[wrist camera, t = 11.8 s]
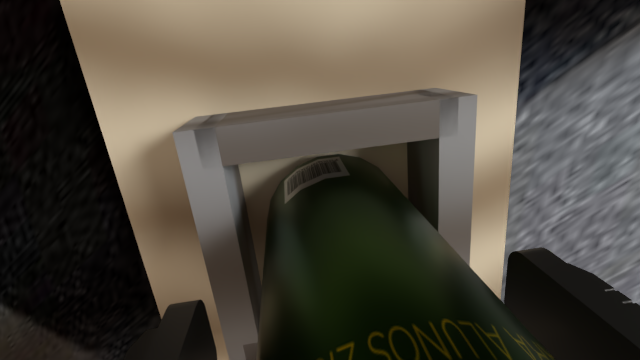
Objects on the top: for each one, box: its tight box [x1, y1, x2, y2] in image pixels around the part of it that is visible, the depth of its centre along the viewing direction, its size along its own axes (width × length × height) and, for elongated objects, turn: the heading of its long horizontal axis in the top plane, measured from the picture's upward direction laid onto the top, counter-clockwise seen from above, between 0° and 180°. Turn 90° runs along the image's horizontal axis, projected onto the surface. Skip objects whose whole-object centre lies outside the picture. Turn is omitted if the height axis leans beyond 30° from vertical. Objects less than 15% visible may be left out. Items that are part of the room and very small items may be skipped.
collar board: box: [60, 0, 525, 360], centre depth 14 cm, size 18×16×4 cm
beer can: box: [256, 154, 555, 360], centre depth 9 cm, size 5×5×12 cm
